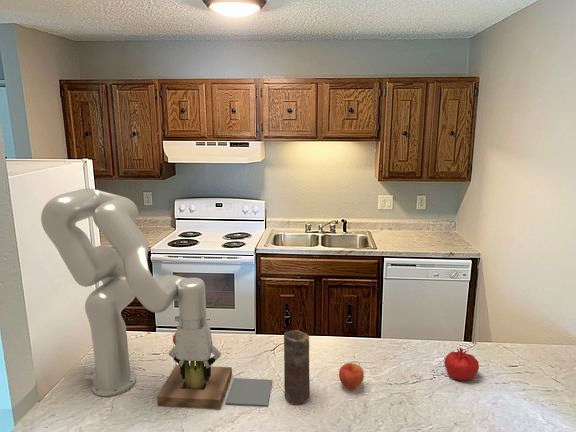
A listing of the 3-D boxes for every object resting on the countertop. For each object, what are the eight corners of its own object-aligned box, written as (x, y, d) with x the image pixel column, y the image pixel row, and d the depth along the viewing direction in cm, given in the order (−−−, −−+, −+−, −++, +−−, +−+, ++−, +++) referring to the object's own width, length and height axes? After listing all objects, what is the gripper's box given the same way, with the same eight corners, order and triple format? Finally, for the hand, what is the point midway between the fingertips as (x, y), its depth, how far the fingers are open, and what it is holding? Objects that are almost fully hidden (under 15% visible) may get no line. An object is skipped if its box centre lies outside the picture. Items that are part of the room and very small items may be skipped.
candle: (280, 392, 125) (280, 330, 121) (303, 386, 128) (304, 326, 124) (289, 408, 118) (289, 342, 114) (313, 402, 121) (314, 338, 117)
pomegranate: (478, 387, 128) (482, 360, 126) (443, 381, 131) (446, 354, 129) (475, 369, 137) (479, 343, 135) (443, 363, 140) (445, 338, 138)
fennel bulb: (184, 393, 125) (182, 357, 122) (191, 384, 129) (189, 348, 127) (202, 396, 123) (200, 359, 121) (209, 386, 128) (207, 350, 125)
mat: (225, 404, 120) (225, 402, 120) (233, 379, 131) (233, 378, 131) (267, 406, 119) (267, 405, 119) (272, 381, 131) (272, 379, 130)
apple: (364, 382, 130) (365, 358, 129) (361, 396, 123) (362, 372, 122) (340, 378, 132) (341, 355, 130) (336, 392, 125) (337, 368, 124)
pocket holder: (157, 406, 119) (156, 396, 119) (176, 373, 135) (175, 364, 134) (220, 409, 118) (219, 399, 117) (232, 375, 133) (231, 367, 133)
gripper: (159, 325, 119) (163, 383, 122) (219, 328, 117) (221, 386, 121) (168, 314, 126) (171, 368, 130) (225, 316, 125) (227, 371, 128)
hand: (195, 376), depth 125 cm, fingers closed on fennel bulb, 6 cm apart
